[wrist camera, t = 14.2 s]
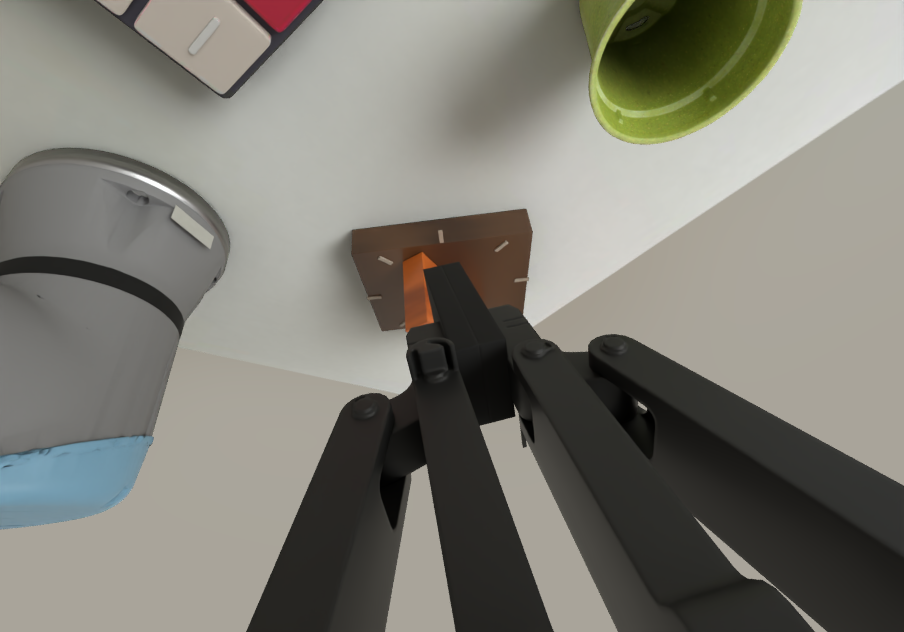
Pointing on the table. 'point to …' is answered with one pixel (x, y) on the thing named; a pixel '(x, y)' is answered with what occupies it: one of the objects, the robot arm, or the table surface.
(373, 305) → the dial panel
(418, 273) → the pointer
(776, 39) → the plant pot
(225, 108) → the table surface
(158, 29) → the calculator
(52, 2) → the table surface
